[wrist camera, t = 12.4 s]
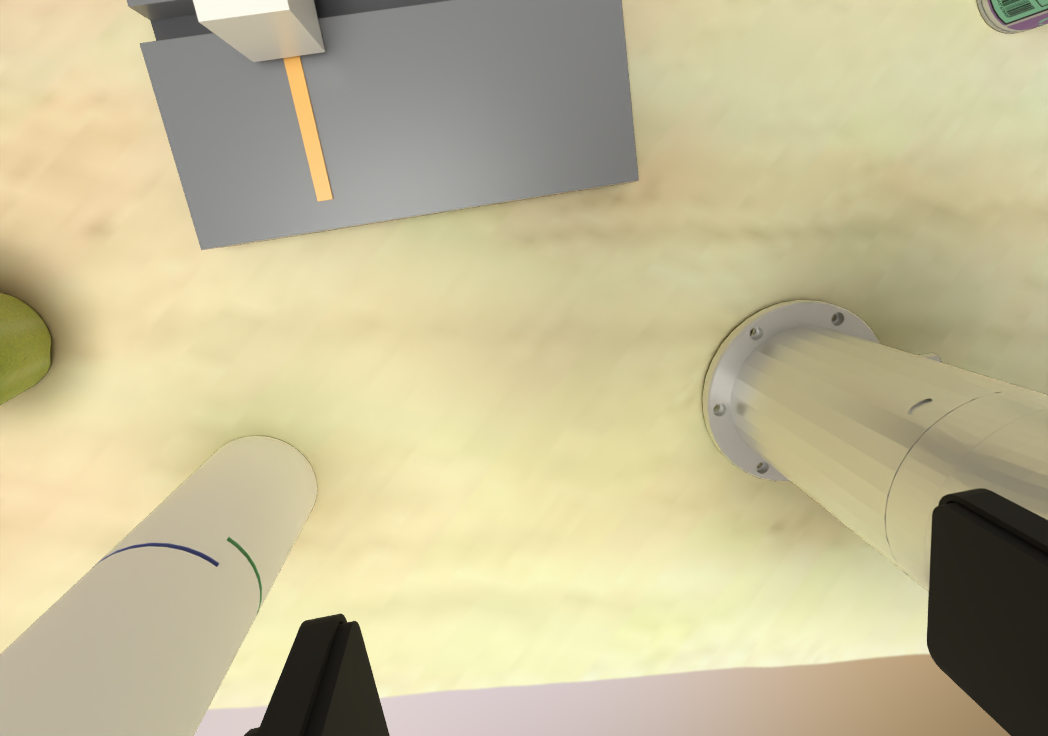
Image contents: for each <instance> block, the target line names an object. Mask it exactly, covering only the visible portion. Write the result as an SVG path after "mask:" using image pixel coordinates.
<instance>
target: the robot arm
mask: <svg viewBox="0 0 1048 736" xmlns="http://www.w3.org/2000/svg"><path fill="white" fill-rule="evenodd" d="M752 329H753V332H752V333H751V334H750V331H751V330H752ZM716 405H717V407H716V408H715V409H714V407H715V406H716ZM703 414H704V419H705V423H706V427H707V430H708V432H709V434H710V436H711V438H712V441H713V442H714V444H715V445H716V446H717V448H718V449H719V450H720V452H721V453H722V454H723V455H724V456H725V457H726V458H727V459H728V460H729V461H730V462H731V463H733V464H734V465H735V466H737V467H738V468H740V469H741V470H743V471H744V472H746V473H748V474H750V475H752V476H755V477H757V478H760V479H766V480H771V481H791V482H793V483H794V484H795V485H796V486H798V487H799V488H800V489H801V490H803V491H804V492H805V493H806V494H807V495H809V496H810V497H811V498H812V499H814V500H815V501H816V502H817V503H819V504H820V505H821V506H822V507H824V508H825V509H826V510H827V511H829V512H830V513H831V514H832V515H834V516H835V517H836V518H837V519H838V520H840V521H841V522H842V523H843V524H845V525H846V526H847V527H848V528H850V529H851V530H852V531H853V532H855V533H856V534H857V535H858V536H860V537H861V538H862V539H863V540H865V541H866V542H867V543H868V544H869V545H871V546H872V547H873V548H874V549H876V550H877V551H878V552H879V553H881V554H882V555H883V556H884V557H886V558H887V559H888V560H889V561H891V562H892V563H893V564H894V565H896V566H897V567H898V568H899V569H900V570H902V571H903V572H904V573H905V574H907V575H908V576H910V577H911V578H912V579H913V580H914V581H916V582H917V583H918V584H919V585H921V586H922V587H923V588H924V589H926V590H927V591H928V592H929V601H928V626H927V646H928V649H929V652H930V654H931V656H932V658H933V659H934V661H935V663H936V664H937V665H938V666H939V667H940V669H941V670H942V671H943V672H944V673H946V674H947V675H948V676H949V677H950V678H951V679H952V680H953V681H954V682H955V683H956V684H957V685H958V686H959V687H960V688H961V689H962V690H964V691H965V692H966V693H967V694H968V695H969V696H970V697H971V698H972V699H973V700H974V701H975V702H976V703H977V704H978V705H979V706H980V707H981V708H983V710H985V711H986V712H987V713H988V714H989V715H990V716H991V717H992V718H993V719H994V720H995V721H996V722H997V723H998V724H999V725H1000V726H1001V727H1002V728H1004V729H1005V730H1006V731H1007V732H1008V733H1009V734H1010V735H1011V736H1048V395H1046V394H1043V393H1040V392H1036V391H1033V390H1030V389H1027V388H1023V387H1020V386H1017V385H1013V384H1010V383H1007V382H1004V381H1000V380H997V379H994V378H990V377H987V376H984V375H981V374H977V373H974V372H971V371H967V370H964V369H961V368H957V367H954V366H951V365H948V364H944V363H942V362H941V359H940V358H939V356H938V355H937V354H935V353H927V354H922V355H915V354H911V353H908V352H905V351H901V350H898V349H895V348H892V347H888V346H885V345H882V344H880V342H879V340H878V339H877V337H876V336H875V334H874V332H873V331H872V329H871V328H870V327H869V326H868V325H867V324H866V323H865V322H864V321H863V320H862V319H861V318H860V317H858V316H857V315H855V314H854V313H852V312H850V311H849V310H847V309H845V308H842V307H839V306H836V305H834V304H831V303H826V302H821V301H816V300H794V301H788V302H782V303H778V304H776V305H773V306H770V307H768V308H765V309H763V310H761V311H759V312H758V313H756V314H754V315H753V316H751V317H749V318H747V319H746V320H745V321H744V322H743V323H741V324H740V325H739V326H738V327H737V328H736V329H734V330H733V331H732V332H731V334H730V335H729V336H728V337H727V338H726V340H725V341H724V342H723V343H722V344H721V346H720V348H719V349H718V351H717V353H716V355H715V356H714V358H713V360H712V362H711V364H710V367H709V370H708V373H707V375H706V378H705V384H704V390H703ZM244 736H389V732H388V728H387V725H386V721H385V718H384V714H383V710H382V706H381V703H380V699H379V695H378V692H377V688H376V684H375V681H374V677H373V673H372V670H371V666H370V662H369V659H368V655H367V652H366V648H365V644H364V641H363V637H362V633H361V630H360V627H359V624H358V623H357V622H356V621H353V622H348V623H347V620H346V618H345V617H344V615H343V614H337V615H332V616H326V617H321V618H316V619H311V620H306V621H304V622H303V623H302V624H301V626H300V628H299V631H298V633H297V636H296V638H295V641H294V643H293V646H292V648H291V651H290V653H289V656H288V658H287V661H286V663H285V666H284V668H283V671H282V673H281V676H280V678H279V680H278V683H277V685H276V688H275V690H274V693H273V695H272V698H271V700H270V703H269V705H268V708H267V710H266V713H265V715H264V718H263V720H262V723H261V725H260V727H259V728H254V729H251V730H249V731H248V732H247V733H246V734H245V735H244Z"/></svg>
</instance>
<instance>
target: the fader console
mask: <svg viewBox="0 0 1048 736" xmlns="http://www.w3.org/2000/svg"><path fill="white" fill-rule="evenodd" d="M127 3H128V6H129V7H130V8H132V9H133V10H135V11H136V12H138V13H140V14H141V15H143V16H144V17H146V18H148V19H149V20H151V24H152V27H153V30H154V34H155V37H156V41H153V42H146V43H140V46H141V50H142V53H143V56H144V60H145V63H146V66H147V70H148V73H149V76H150V80H151V83H152V86H153V90H154V93H155V96H156V100H157V103H158V106H159V110H160V113H161V116H162V120H163V123H164V127H165V130H166V133H167V137H168V140H169V143H170V147H171V150H172V153H173V157H174V160H175V163H176V167H177V170H178V173H179V177H180V180H181V183H182V187H183V190H184V193H185V197H186V200H187V203H188V207H189V210H190V214H191V217H192V220H193V224H194V227H195V230H196V234H197V237H198V240H199V244H200V247H201V250H205V249H213V248H221V247H228V246H234V245H241V244H247V243H253V242H259V241H266V240H272V239H278V238H285V237H291V236H297V235H303V234H310V233H316V232H322V231H329V230H335V229H341V228H347V227H354V226H360V225H366V224H373V223H379V222H385V221H392V220H398V219H404V218H410V217H417V216H423V215H429V214H436V213H442V212H448V211H454V210H461V209H467V208H473V207H480V206H486V205H492V204H499V203H505V202H511V201H517V200H524V199H530V198H536V197H543V196H549V195H555V194H561V193H568V192H574V191H580V190H587V189H593V188H599V187H605V186H612V185H618V184H624V183H629V182H634V181H638V180H639V178H638V168H637V157H636V147H635V137H634V126H633V116H632V105H631V95H630V84H629V74H628V63H627V53H626V42H625V32H624V22H623V11H622V1H621V0H314V4H315V8H316V13H317V17H318V22H319V26H320V31H321V35H322V40H323V44H324V49H325V52H323V53H315V54H308V55H301V56H294V57H287V58H280V59H273V60H266V61H259V62H252V61H251V60H250V59H248V58H247V57H246V56H244V55H243V54H242V53H240V52H239V51H237V50H236V49H235V48H233V47H232V46H231V45H229V44H228V43H227V42H225V41H224V40H223V39H221V38H220V37H218V36H217V35H216V34H214V33H213V32H212V31H210V30H209V29H208V28H206V27H205V26H204V25H202V24H201V23H199V21H198V17H197V14H196V10H195V6H194V3H193V0H127Z"/></svg>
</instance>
